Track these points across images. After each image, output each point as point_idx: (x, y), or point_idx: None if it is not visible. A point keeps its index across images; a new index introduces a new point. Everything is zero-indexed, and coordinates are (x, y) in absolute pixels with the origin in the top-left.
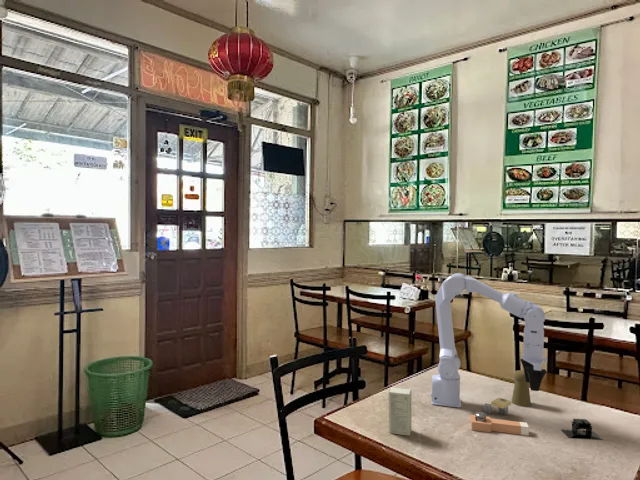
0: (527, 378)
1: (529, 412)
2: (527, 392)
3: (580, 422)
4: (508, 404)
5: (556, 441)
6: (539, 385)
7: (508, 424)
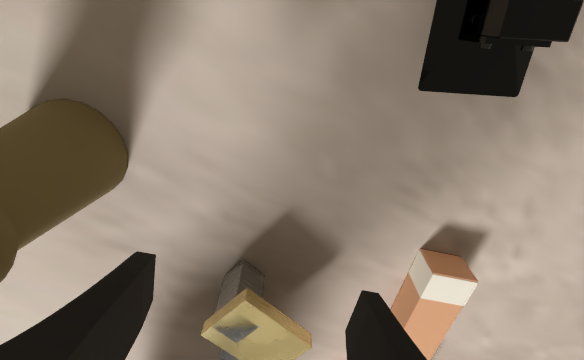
0: (139, 324)
1: (207, 157)
2: (59, 162)
3: (568, 18)
4: (271, 311)
5: (533, 172)
6: (404, 336)
7: (439, 340)
